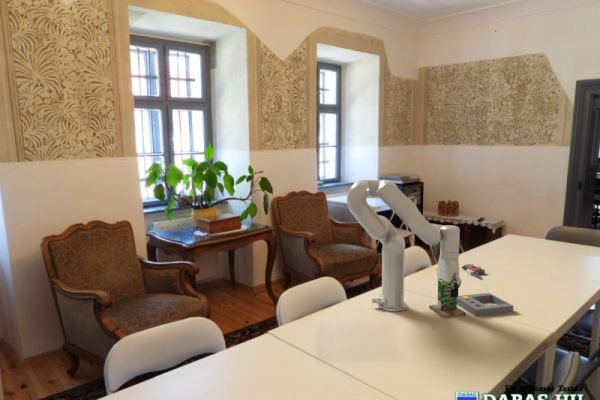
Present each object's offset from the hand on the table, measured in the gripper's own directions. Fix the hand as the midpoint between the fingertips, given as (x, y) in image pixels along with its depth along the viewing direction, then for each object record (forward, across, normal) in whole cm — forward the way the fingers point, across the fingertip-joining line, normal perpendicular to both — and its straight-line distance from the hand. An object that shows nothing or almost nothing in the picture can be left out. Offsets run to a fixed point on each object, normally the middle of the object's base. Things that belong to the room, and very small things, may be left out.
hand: (447, 293), depth 182 cm
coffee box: (+7, 0, 0) cm, 7 cm away
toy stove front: (+8, 0, +18) cm, 19 cm away
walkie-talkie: (+9, -42, +44) cm, 62 cm away
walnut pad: (+8, 0, 0) cm, 8 cm away
